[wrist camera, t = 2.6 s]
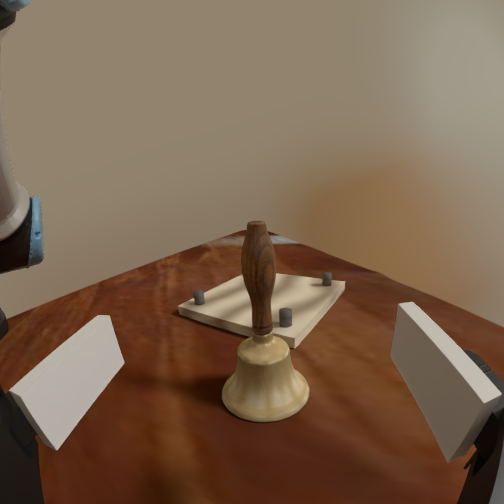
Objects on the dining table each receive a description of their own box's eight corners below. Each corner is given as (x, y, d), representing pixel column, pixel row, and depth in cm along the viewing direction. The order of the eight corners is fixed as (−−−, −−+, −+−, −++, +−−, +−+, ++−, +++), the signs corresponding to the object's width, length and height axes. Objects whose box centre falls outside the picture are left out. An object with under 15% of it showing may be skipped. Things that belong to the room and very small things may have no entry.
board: (179, 314, 42) (175, 294, 41) (251, 276, 58) (249, 260, 57) (294, 348, 31) (294, 323, 30) (344, 289, 46) (345, 270, 46)
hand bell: (313, 369, 26) (313, 213, 23) (303, 427, 19) (306, 229, 15) (237, 363, 29) (220, 217, 25) (209, 414, 21) (174, 234, 17)
